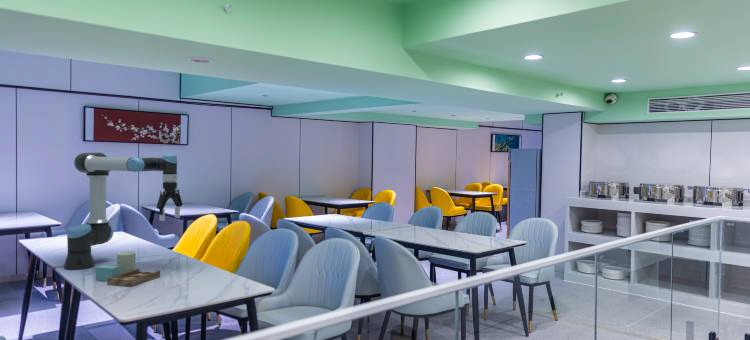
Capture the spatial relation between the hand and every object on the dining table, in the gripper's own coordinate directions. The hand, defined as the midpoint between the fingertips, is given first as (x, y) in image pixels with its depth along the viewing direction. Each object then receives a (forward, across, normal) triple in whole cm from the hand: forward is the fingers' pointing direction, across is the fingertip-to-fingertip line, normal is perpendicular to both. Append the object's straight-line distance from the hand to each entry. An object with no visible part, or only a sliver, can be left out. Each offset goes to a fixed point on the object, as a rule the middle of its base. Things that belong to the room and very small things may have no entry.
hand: (169, 219), depth 297 cm
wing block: (+28, -33, +12) cm, 45 cm away
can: (+28, -20, +12) cm, 37 cm away
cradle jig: (+28, -30, -1) cm, 41 cm away
